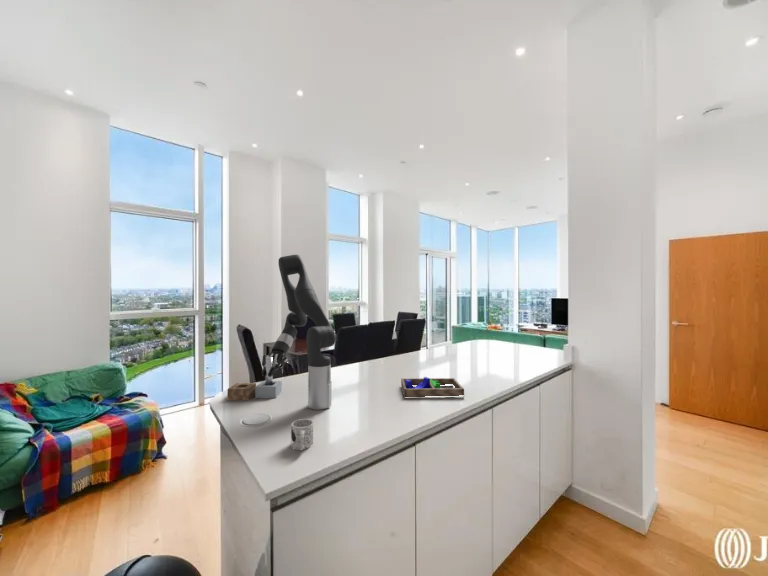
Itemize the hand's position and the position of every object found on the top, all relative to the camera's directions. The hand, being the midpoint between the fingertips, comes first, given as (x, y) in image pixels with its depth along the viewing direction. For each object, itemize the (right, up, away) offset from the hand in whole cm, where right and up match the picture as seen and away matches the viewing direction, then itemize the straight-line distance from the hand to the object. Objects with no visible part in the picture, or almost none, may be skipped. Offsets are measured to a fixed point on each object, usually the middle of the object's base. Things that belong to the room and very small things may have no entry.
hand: (266, 375), depth 143 cm
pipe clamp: (+79, -10, +8) cm, 80 cm away
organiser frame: (+76, -10, +7) cm, 77 cm away
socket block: (+1, -9, +2) cm, 10 cm away
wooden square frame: (-10, -9, -2) cm, 14 cm away
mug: (+29, -9, -48) cm, 56 cm away
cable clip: (+70, -10, +6) cm, 71 cm away
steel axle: (+1, -8, +2) cm, 8 cm away
